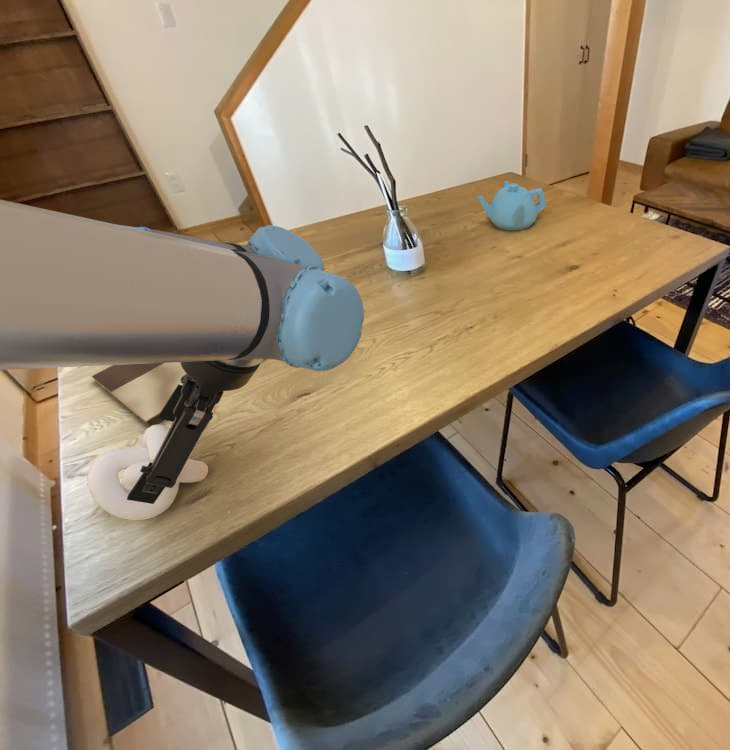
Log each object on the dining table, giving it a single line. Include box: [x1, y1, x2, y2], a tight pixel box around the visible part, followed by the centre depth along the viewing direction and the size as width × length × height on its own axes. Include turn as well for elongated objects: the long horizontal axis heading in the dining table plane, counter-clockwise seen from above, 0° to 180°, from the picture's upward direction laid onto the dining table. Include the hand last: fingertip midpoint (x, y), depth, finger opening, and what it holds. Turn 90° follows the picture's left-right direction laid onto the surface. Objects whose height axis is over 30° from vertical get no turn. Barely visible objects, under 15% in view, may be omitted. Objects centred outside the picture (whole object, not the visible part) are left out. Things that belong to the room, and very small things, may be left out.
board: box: [91, 362, 186, 427], centre depth 82 cm, size 24×20×2 cm
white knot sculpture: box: [86, 423, 209, 521], centre depth 59 cm, size 11×12×9 cm
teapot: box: [477, 180, 547, 231], centre depth 125 cm, size 15×15×11 cm
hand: (156, 456), depth 58 cm, fingers open, 13 cm apart
